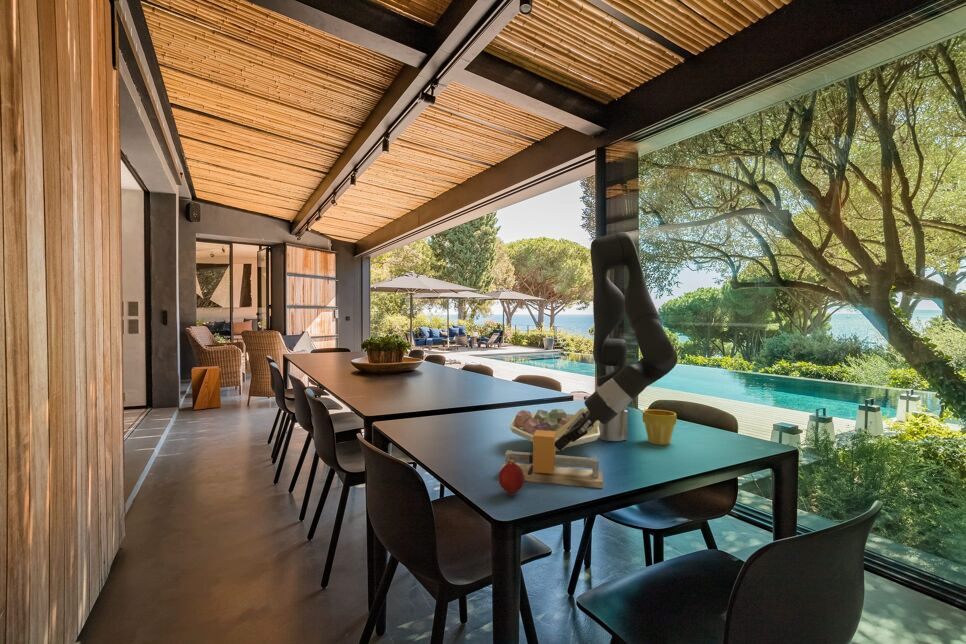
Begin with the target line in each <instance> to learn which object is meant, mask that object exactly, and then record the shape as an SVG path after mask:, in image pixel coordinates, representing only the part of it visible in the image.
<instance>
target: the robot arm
mask: <svg viewBox="0 0 966 644" xmlns="http://www.w3.org/2000/svg"><path fill="white" fill-rule="evenodd" d="M590 263H591V270H592V271H591V272H592V281H593V283H592V285H593V294H592V295H593V297H592V301H593V302H592V305H593V307H592V313H593V326H594V327H593V329H594V330H593V331H594V332H593V335H594V336H593V344H592V345H593V347H592V353H593V354H592V356H593V361H594V363H595V365H598V366H602V367H616V368H615V369H614V370H613V371H612V372H610V373H608V374H604V375H601V376H598V377H597V380H596V390H595V391H593V393H592V394H591V395H590V396H589V397H587V398H586V399H585V400H584V406H585V407H586V408H587V409H588V411H586V412H585V413H583V412H582V413H581V414H579V415H578V417H577V418H576V419H575V420H574V421H573V422H572V423H571V425H570V426H569V427H568V428H567V430H566V431H565V433H564V434H563V435H562V436H561V437H560V438H559V439H558V440H557V441H556V442H555V444H554V445H555V447H556V448H557V449H558V450H561V451H563V450H562V449H563V448H564V447H565V446H566V445H567V444H568V443H570V442H575V441H576V440H577V439H579V438H581V437H582V436H584V435H585V434H587V432H588V431H590V430H591V429H592V428H593V427H594V425H593V424H594V423H595V422H596V421H597V420H598V421H600V422H599V431H600V435H599V437H598V438H597V439H598V440H603V441H608V442H620V441H625V440H628V414H629V413H628V410H626V408H627V407H628V405H630V403H632V401H633V400H634V399H636V398H637V397H638V396H639V395H640V394H642V392H644V390H645V389H646V388H647V387H649V386H651V385H652V384H655V383H656V382H657V381H658V380H660V379H661V378H663V377H665V376H666V375H668V374H669V373H670V372H671V371H672V370H673V369H674V368H675V366H676V365H677V362H678V360H679V359H678V357H679V355H678V353H677V351H676V349H675V347H674V345H673V344H672V342H671V341H670V338H669V337H668V335H667V333H666V331H665V329H664V326H663V324H662V322H663V321H662V320H661V317H660V314H659V312H658V310H657V307H656V306H655V303H654V301H653V299H652V297H651V294H650V291H649V289H648V285H647V282H646V278H645V274H644V271H643V267H642V264H641V261H640V258H639V253H638V250H637V247H636V245H635V241H634V240H633V238H632V237H631V234H630V233H628V232H626V231H620V232H615V233H611V234H607V235H606V234H605V235H603V236H598V237H597V238H596V237H595V239H593V240H592V241H591V243H590ZM622 267H626V268H627V272H628V282H627V286H626V291H625V294H623V292H622V291H621V290H620V288H618V287H617V285H615V284H614V283H613V282H612V281H611V280H610V279H609V277H608V276H607V273H608V271H610V270H614V269H618V268H619V269H620V268H622ZM625 314H626V317H627V320H628V321H629V322H628V323H629V325H630V326H631V328H632V331H633V332H634V334H635V338H636V342H637V345H638V348H639V351H640V354H641V355H642V358H640V359H639V360H638V361H636V362H635V363H631V364H630V363H629V364H627V359H628V358H627V357H628V344H627V341H626V340H625V339H624V338H608V336H610V334H611V333H612V332H613V331H614V330H615V329H617V327H618V326H619V325H621V323H622V321H624V318H625ZM565 448H566V447H565ZM565 448H564V449H565Z"/></svg>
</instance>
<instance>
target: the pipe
mask: <svg viewBox="0 0 966 644" xmlns="http://www.w3.org/2000/svg"><path fill="white" fill-rule="evenodd" d="M509 460H513V461H514V463H522V464H530V465H533V452H526V451H524V452H523V451H513V450H511V449H510V450H509V449H508V450H506V451H505V453H504V463H505V465H507V464H508V463H509V462H508V461H509ZM599 461H600V459H599V457H597V456H596V457H584V456H573V455H564V454H563V455H561V454H555V455H554V465H555V466H556V467H568V468H579V469H591V470H592V477H593V478H598V476H599V471H600V470H599V466H600V464H599V463H600V462H599Z"/></svg>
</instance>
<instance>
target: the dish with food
mask: <svg viewBox="0 0 966 644" xmlns="http://www.w3.org/2000/svg"><path fill="white" fill-rule="evenodd" d="M586 411H588V409H587V407H586V408H585V407H583V408H580V409H579V410H578V411H577V412H576V413H575V414H573V413H566V411H565V410H564V409H562V408H555V409H551V410H550V412H549V411H548V410H542V409H537V411H536V412H531V411H528V410H525V409H523V410H522V409H521V410H520V411H517V413H516V415H515V416H513V418H512V421H511V423H510V425H509V429H510V430H511V432H512V433H513V434H515V435H518V436H519V437H521V438H524V439H526V440H528V441H530V442H532V443H533V436H534V433H535V431H536V430H545V431H556V438H555V442H556V441H557V440H558V439H559V438H560V437H561V436H562V435H563V434H564V433H565V431H566V430H567V428H568V427H569V426H570V425H571V423H572V422H573V421H574V420H575V419H576V418H577V417H578V415H579V414H581V413H582V412H583V413H585V412H586ZM599 422H600V421H598V420H597V421H596V422H595V423H594V424H593V425H594V427H593V428H592V429H591V430H590V431H588V432H587V434H585V435H584V436H582V437H581V438H579V439H577V440H576V441H575V442H570V443H568V444H567V445H566V446H565V447H564V448H563V449H562V450H558V449H557V448H556V447H555V452H560V451H564V450H565V448H570V447H573V446H578V445H581V444H586V443H590V442H593V441H594V442H595V441H597V440H598V439H599V438H598V437H599V435H600V431H599Z"/></svg>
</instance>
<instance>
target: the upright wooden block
mask: <svg viewBox="0 0 966 644" xmlns="http://www.w3.org/2000/svg"><path fill="white" fill-rule="evenodd" d="M555 438H556V431H545V430H536V431H535V433H534V436H533V442H532V445H533V446H532V453H533V463H532V465H533V472H538V473H549V474H553V473H554V468H555V467H556V465H554V455H556V451H555V445H554V444H555Z"/></svg>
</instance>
